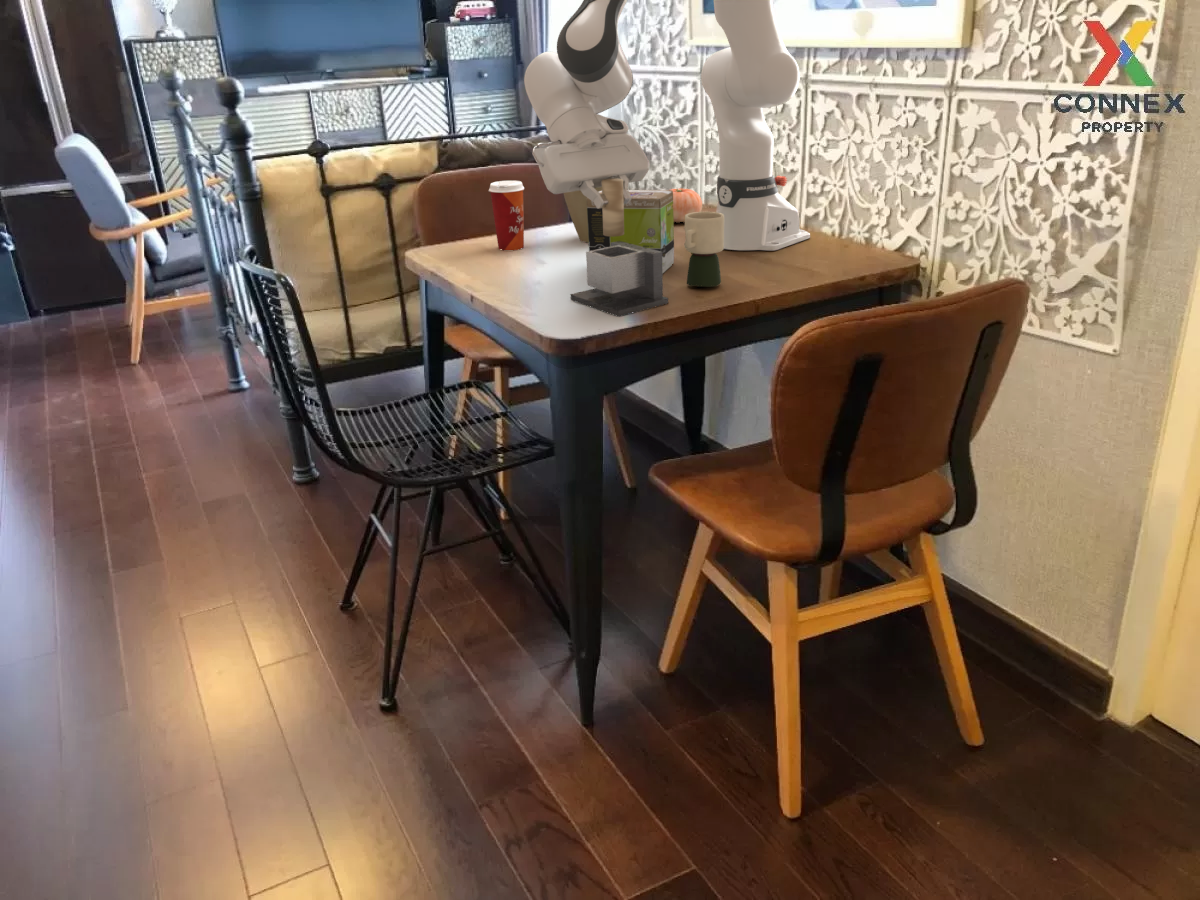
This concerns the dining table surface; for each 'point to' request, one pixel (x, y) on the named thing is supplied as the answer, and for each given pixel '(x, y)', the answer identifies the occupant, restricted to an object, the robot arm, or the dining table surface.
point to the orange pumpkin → (685, 203)
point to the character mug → (704, 247)
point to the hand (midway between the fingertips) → (615, 204)
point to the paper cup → (508, 213)
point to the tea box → (639, 223)
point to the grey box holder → (623, 279)
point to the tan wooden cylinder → (613, 207)
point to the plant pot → (579, 212)
